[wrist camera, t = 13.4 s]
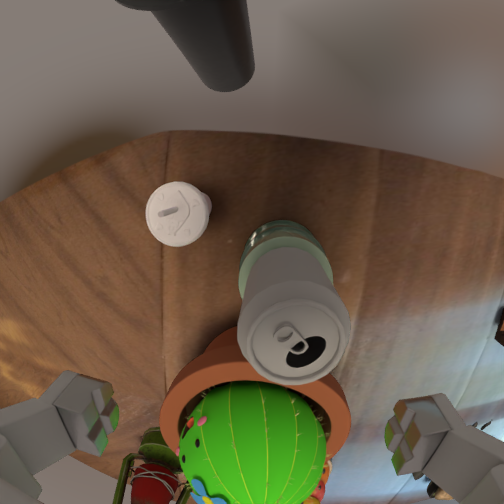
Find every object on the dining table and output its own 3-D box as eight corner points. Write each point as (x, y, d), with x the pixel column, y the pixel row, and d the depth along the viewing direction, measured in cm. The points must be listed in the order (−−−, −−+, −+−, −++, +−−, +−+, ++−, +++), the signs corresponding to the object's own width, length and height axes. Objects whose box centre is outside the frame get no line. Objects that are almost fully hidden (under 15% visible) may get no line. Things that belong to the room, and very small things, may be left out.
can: (282, 331, 30) (288, 411, 19) (231, 280, 29) (208, 343, 18) (339, 284, 29) (379, 347, 17) (289, 228, 28) (305, 262, 16)
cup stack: (245, 217, 38) (237, 230, 28) (323, 222, 37) (341, 237, 28) (241, 291, 40) (233, 325, 30) (315, 295, 40) (328, 330, 30)
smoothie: (227, 185, 37) (203, 189, 23) (217, 235, 39) (190, 266, 25) (178, 177, 37) (131, 177, 23) (170, 225, 39) (122, 250, 25)
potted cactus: (358, 348, 41) (418, 482, 17) (279, 436, 46) (281, 558, 22) (227, 278, 40) (174, 411, 15) (165, 386, 45) (109, 507, 20)
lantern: (136, 448, 50) (87, 558, 21) (134, 417, 47) (71, 542, 18) (200, 466, 50) (172, 587, 21) (206, 437, 47) (172, 578, 18)
